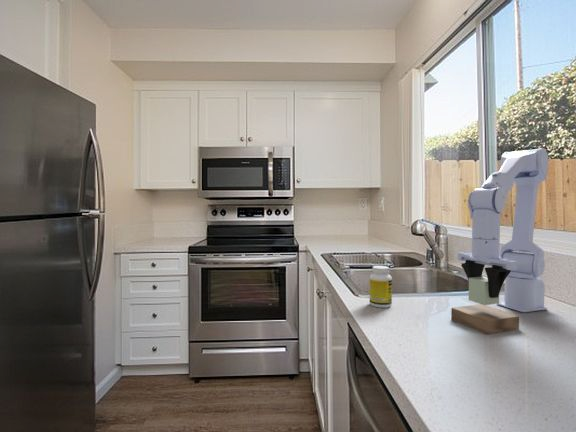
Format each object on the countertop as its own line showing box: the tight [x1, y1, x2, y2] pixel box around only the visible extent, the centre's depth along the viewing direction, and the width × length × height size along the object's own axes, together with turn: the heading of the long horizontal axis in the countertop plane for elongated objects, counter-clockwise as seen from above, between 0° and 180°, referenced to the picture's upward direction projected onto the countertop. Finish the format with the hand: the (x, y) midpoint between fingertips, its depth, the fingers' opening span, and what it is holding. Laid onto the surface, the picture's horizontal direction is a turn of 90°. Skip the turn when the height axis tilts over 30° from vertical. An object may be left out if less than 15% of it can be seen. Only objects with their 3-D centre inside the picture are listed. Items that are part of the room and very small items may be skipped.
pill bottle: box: [369, 265, 393, 309], centre depth 96 cm, size 6×6×11 cm
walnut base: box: [450, 303, 520, 335], centre depth 81 cm, size 10×10×3 cm
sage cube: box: [468, 276, 500, 306], centre depth 80 cm, size 4×4×6 cm
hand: (484, 294), depth 80 cm, fingers closed on sage cube, 4 cm apart
